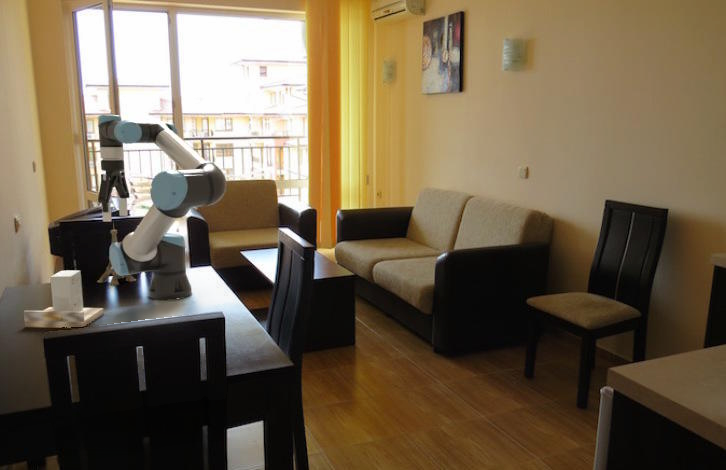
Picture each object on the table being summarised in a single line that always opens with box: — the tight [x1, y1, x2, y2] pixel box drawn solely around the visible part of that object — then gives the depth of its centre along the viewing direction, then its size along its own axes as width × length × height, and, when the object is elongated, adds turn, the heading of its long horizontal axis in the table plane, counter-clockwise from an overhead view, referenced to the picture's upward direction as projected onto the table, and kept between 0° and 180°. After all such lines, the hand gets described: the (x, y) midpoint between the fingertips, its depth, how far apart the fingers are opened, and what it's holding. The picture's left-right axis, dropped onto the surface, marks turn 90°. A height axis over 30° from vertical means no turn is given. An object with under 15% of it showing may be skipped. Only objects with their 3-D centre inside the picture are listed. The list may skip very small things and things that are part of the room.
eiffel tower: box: [96, 221, 137, 287], centre depth 230 cm, size 11×11×25 cm
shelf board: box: [23, 306, 105, 329], centre depth 183 cm, size 18×14×5 cm
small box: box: [49, 269, 84, 311], centre depth 184 cm, size 8×6×13 cm
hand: (115, 218), depth 207 cm, fingers open, 13 cm apart
